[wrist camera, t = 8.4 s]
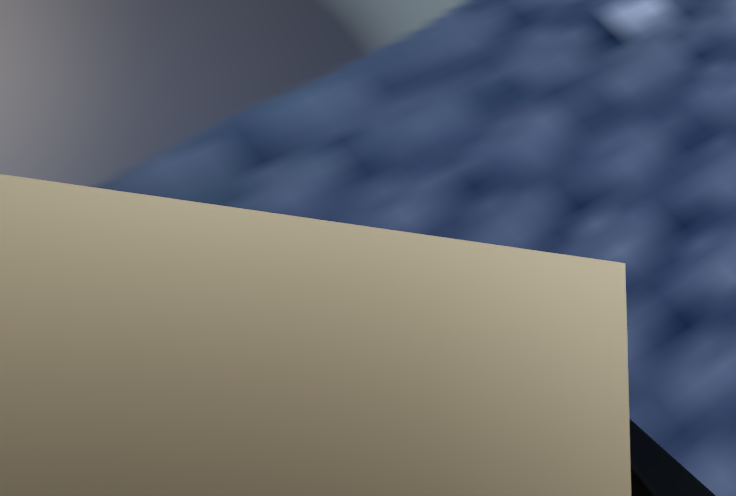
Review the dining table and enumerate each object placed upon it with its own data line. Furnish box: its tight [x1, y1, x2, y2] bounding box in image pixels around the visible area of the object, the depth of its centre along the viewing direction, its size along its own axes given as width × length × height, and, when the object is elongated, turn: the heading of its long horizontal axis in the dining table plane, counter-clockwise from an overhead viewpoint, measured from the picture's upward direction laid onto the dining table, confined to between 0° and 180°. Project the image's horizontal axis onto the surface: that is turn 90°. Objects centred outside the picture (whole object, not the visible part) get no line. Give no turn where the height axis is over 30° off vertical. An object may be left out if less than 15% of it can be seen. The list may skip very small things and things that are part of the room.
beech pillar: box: [0, 174, 631, 496], centre depth 8 cm, size 4×4×13 cm
